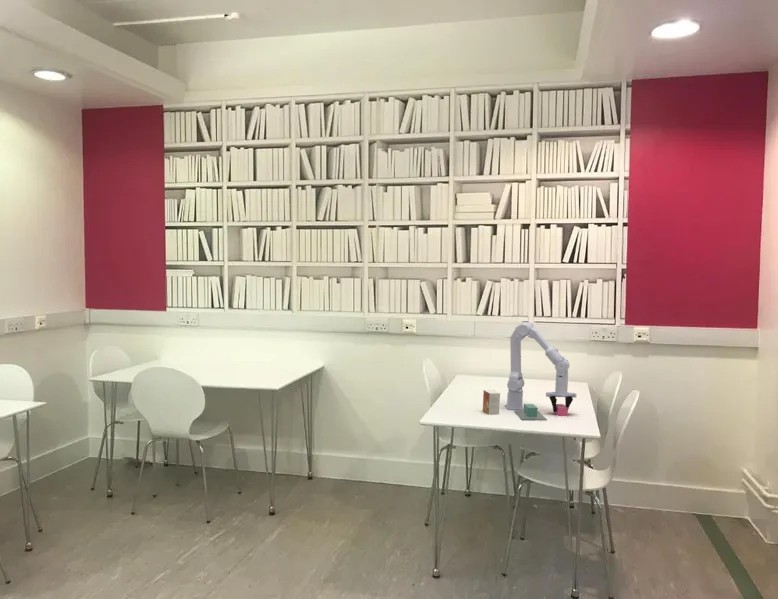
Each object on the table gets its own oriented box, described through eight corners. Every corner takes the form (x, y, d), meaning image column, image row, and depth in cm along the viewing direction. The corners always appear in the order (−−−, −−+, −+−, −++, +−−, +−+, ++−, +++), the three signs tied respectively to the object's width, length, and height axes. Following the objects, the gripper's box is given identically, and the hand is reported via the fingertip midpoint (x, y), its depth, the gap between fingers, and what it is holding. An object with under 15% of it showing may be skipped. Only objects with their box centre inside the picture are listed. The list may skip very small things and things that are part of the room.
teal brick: (523, 412, 306) (524, 403, 305) (533, 413, 306) (533, 404, 305) (527, 416, 298) (527, 407, 297) (537, 417, 298) (537, 407, 297)
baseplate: (514, 412, 310) (514, 410, 310) (538, 412, 310) (538, 411, 310) (521, 420, 294) (521, 418, 294) (547, 420, 294) (547, 419, 294)
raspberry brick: (553, 412, 311) (553, 403, 311) (562, 413, 311) (563, 404, 311) (557, 416, 303) (558, 407, 303) (567, 417, 303) (567, 407, 303)
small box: (482, 410, 311) (483, 389, 310) (493, 410, 312) (493, 389, 311) (488, 414, 303) (489, 393, 302) (499, 414, 304) (500, 392, 304)
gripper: (549, 385, 302) (547, 413, 303) (578, 386, 302) (577, 413, 303) (545, 382, 309) (544, 409, 310) (574, 383, 309) (573, 410, 310)
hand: (560, 411), depth 307 cm, fingers open, 5 cm apart
